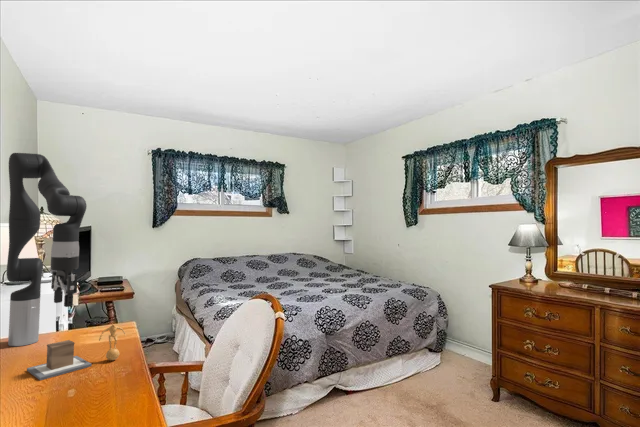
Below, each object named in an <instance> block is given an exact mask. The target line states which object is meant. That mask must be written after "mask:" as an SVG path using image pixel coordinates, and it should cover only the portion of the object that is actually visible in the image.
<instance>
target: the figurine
mask: <svg viewBox="0 0 640 427" xmlns="http://www.w3.org/2000/svg"><path fill="white" fill-rule="evenodd" d="M117 330H121V331H122V333H123V334H124V336H125V338H127V334H126V332H125V330H124V328H122V327H119V326H117V325H115V324H112V325H110V326H109V327H107V328H105V329H104V330H103V331H102V332H101V335H99V338H98V341H101V340H102V337H103V334H104V333H105V332H107V331H109V333H110V334H109V335H108V343H109V349H108V351H107V352H106V354H105V357H106V359H107V360H108V361H116V360H117V359H118V358H119V357H120V351H119V349H118V348H117V347H116V346H117V345H116V344H117V342H118V334H117V333H116V332H117ZM112 340H114V346H113V348H112Z"/></svg>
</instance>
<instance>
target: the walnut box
mask: <svg viewBox="0 0 640 427" xmlns="http://www.w3.org/2000/svg"><path fill="white" fill-rule="evenodd" d="M75 344H76V342H74V341H72V340H70V339H68V340H63V341H62V340H61V341H58V342H53V343H49V344H48V343H47V344H46V367H48V368H49V369H51V370H54V369H58V368H61V367H65V366H69V365H73V358H74V356H75V355H74V353H75V351H74V350H75Z"/></svg>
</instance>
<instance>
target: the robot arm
mask: <svg viewBox="0 0 640 427" xmlns="http://www.w3.org/2000/svg"><path fill="white" fill-rule="evenodd" d="M8 178H9V211H8V212H9V213H8V240H9V241H8V252H7V253H8V254H7V264H6V278H7V281H8V282H9V283H22V282H24V283H25V282H26V283H27V282H30V283H29V285H26V286H25V287H24V288H21V289H18V290H15V291H12V292H11V293H10V300H9V317H8V318H9V321H8V337H7V338H8V340H7V341H8V342H7V343H8V344H7V345H8V346H10V347H22V346H27V345H32V344H35V343H37V342H38V341H39V337H40V334H39V333H40V332H39V331H40V313H41V292H42V290H41V289H42V288H41V287H42V286H41V285H42V277H43V276H42V275H43V266H44V265H43V260H42V258H40V257H28V258H27V257H25V258H24V257H23V258H19V256H20V254H21V252H22V251H23V249H24V248H25V247H26V245H27V244H28V243H29V242H30V241H31V240H32V239H33V238H34V237H35V235H36V234H37V233H38V232H39V229H40V228H41V211H40V208H39V207H38V205H37V204H36V203H35V201H34V200H33V199H32V198H31V197H30V195H29V194H28V192H27V191H26V189H25V186H24V179H39V181H38V182H37V189H38V192H39V193H40V195H42V197H43V198H44V199H45V200H46V204H47V205H46V206H47V211H48V212H49V214H52V215H53V216H57V217H69V219H68V220H67V221H66V222H62V223H57V224H54V226H53V229H52V244H51V252H50V270H51V271H52V272H51V284H50V285H51V289H52V290H53V292H54V293H53V303H54V304H58V303H63V306H64V307H65V308H68V307H73V305H74V303H73V302H74V295H75V294H77V293H78V274H73V271H74V270H77V269H79V266H80V265H79V262H80V242H79V241H80V238H79V237H80V228H81V225H82V222H83V219H84V216H85V214H86V210H87V201H86V200H85V198H84V197H82V196H80V195H74V194H73V195H71V194H70V193H71V192H70V190H69V189H68V188H67V187H66V186H65V184H64V183H63V182H62V181H60V180H59V178H58V176H57V175H56V172H55V170H54V169H53V167H52V165H51V163H50V161H49V160H48V159H47V158H46V157H45V156H44V155H42V154H41V153H40V154H39V153H30V152H29V153H26V152H13V153H11V154H10V155H9V158H8ZM63 293H64V298H63Z"/></svg>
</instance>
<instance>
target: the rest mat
mask: <svg viewBox="0 0 640 427" xmlns="http://www.w3.org/2000/svg"><path fill="white" fill-rule="evenodd" d="M46 363H47V362H46ZM46 363H42V364H38V365H33V366H30V367H27V368H26V371H27V372H28V373H29V374H31V375H32V376H34V378H36V379H37V380H39V381H43V380H47V379H51V378H55V377H58V376H61V375H64V374H67V373H71V372H75V371H78V370H83V369H86V368H89V367H93V366H92V363H91V362H89V361H87V360H86V359H84V358H83V357H80V356H78V355H74V358H73V365H69V366H65V367H61V368H58V369H54V370H51V369H49V368H48V367H46Z"/></svg>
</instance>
